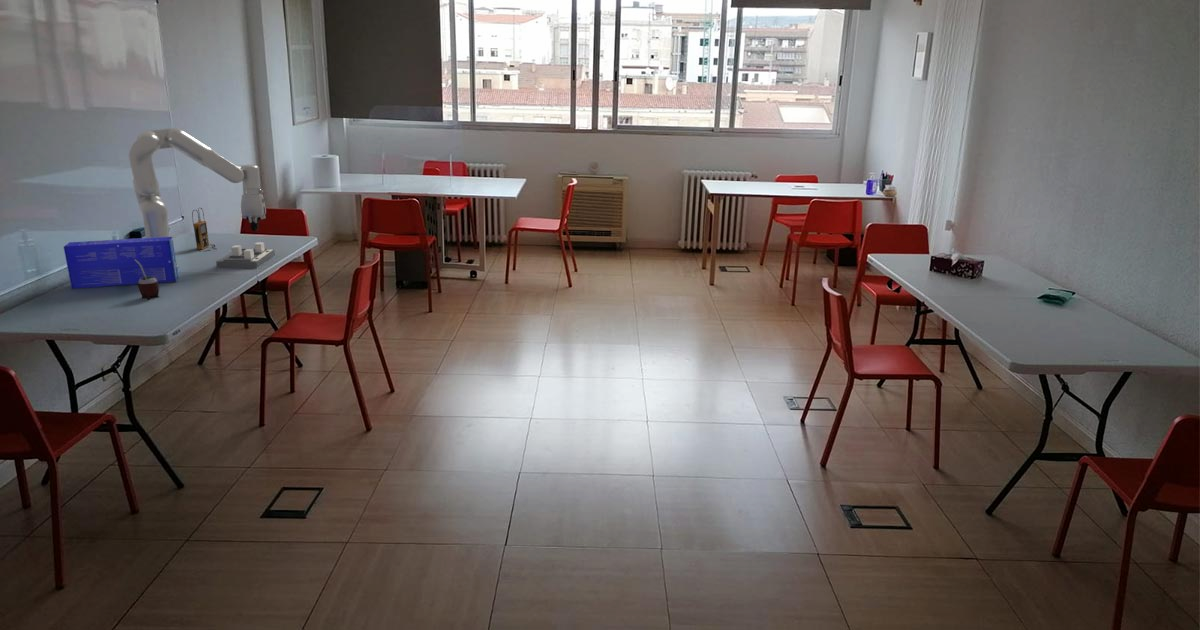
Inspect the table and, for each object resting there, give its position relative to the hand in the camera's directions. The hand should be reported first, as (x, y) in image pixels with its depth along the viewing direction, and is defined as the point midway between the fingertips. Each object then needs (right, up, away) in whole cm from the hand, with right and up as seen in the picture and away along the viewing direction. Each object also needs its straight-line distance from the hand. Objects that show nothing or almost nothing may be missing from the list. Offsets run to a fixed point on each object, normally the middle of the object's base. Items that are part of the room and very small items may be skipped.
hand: (254, 230), depth 383 cm
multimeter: (-31, -7, +21) cm, 38 cm away
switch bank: (-3, -15, -2) cm, 15 cm away
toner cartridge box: (-37, -27, -41) cm, 61 cm away
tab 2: (+1, -9, +3) cm, 10 cm away
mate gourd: (-17, -33, -59) cm, 70 cm away
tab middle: (-7, -12, -4) cm, 14 cm away
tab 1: (+2, -14, -10) cm, 17 cm away
